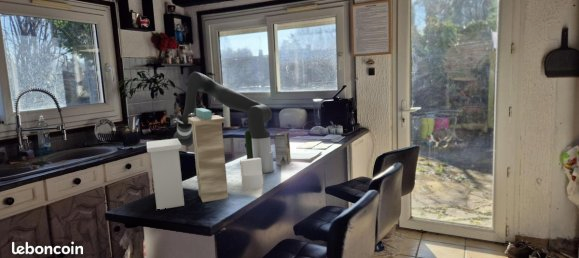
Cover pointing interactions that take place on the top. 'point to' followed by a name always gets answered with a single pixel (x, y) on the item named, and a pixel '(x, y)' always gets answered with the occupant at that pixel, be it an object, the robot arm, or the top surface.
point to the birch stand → (209, 157)
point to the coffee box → (282, 148)
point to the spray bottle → (248, 143)
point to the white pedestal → (166, 172)
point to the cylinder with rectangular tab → (251, 173)
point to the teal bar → (203, 113)
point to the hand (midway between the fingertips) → (186, 111)
